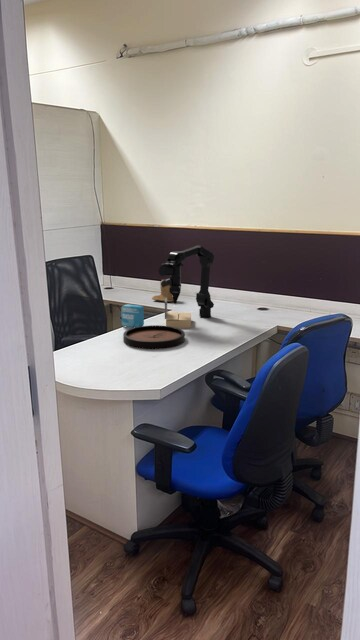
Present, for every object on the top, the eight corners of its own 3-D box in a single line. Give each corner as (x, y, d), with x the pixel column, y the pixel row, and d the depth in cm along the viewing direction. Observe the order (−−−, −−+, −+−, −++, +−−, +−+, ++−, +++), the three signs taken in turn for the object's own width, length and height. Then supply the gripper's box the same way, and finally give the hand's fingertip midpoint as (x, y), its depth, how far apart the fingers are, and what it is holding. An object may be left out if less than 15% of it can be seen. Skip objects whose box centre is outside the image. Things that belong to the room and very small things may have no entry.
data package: (121, 326, 278) (121, 305, 275) (125, 324, 282) (124, 304, 279) (140, 328, 274) (140, 307, 271) (144, 326, 278) (143, 305, 275)
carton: (190, 320, 292) (190, 312, 291) (191, 328, 274) (191, 320, 273) (167, 320, 292) (167, 312, 291) (166, 327, 274) (166, 319, 273)
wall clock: (132, 344, 231) (116, 328, 259) (133, 352, 232) (116, 335, 260) (194, 338, 242) (172, 323, 270) (194, 346, 243) (172, 330, 271)
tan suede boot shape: (178, 300, 347) (178, 279, 343) (170, 303, 337) (170, 282, 333) (160, 298, 354) (159, 277, 350) (151, 301, 344) (151, 280, 340)
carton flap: (178, 313, 290) (178, 296, 288) (177, 320, 274) (177, 302, 271) (166, 313, 290) (165, 296, 288) (164, 320, 274) (164, 302, 271)
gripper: (162, 271, 286) (162, 298, 289) (160, 276, 267) (160, 304, 271) (181, 272, 285) (181, 298, 289) (180, 277, 267) (180, 305, 271)
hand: (175, 301), depth 280 cm, fingers open, 9 cm apart
